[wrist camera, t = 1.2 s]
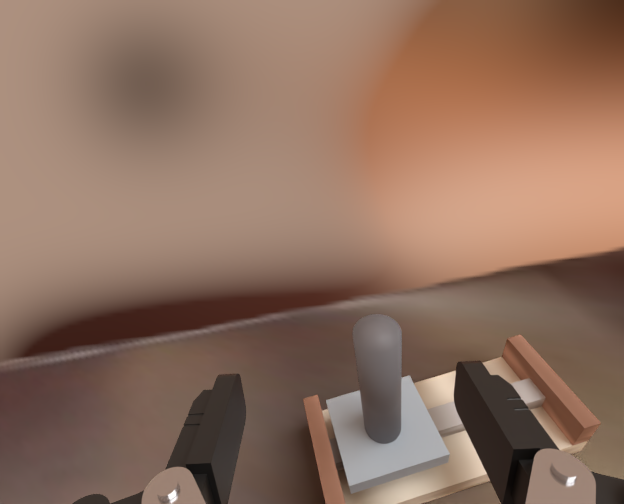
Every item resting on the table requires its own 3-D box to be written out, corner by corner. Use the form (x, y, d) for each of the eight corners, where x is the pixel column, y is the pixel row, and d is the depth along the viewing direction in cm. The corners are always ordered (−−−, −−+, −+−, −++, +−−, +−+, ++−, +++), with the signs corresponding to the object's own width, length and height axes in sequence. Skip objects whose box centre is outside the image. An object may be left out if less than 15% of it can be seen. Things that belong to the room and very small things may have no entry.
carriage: (408, 393, 34) (412, 279, 25) (446, 470, 28) (468, 360, 19) (330, 417, 33) (303, 309, 24) (352, 500, 28) (329, 402, 18)
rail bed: (510, 364, 37) (520, 334, 34) (580, 451, 30) (601, 423, 27) (311, 424, 35) (303, 398, 32) (335, 532, 28) (327, 512, 25)
